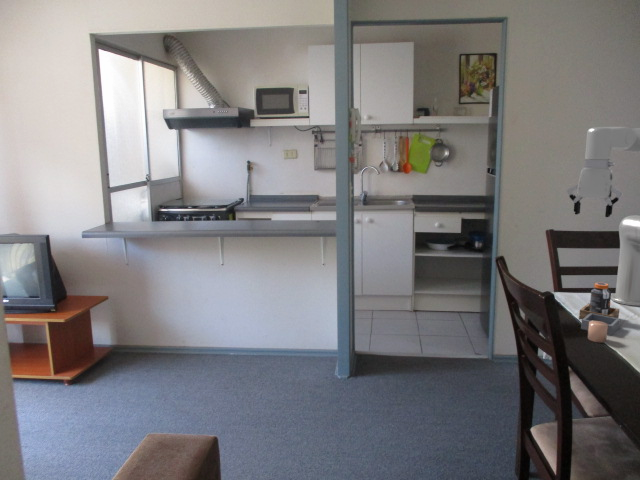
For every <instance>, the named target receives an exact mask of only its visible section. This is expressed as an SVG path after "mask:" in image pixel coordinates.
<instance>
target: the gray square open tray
mask: <svg viewBox="0 0 640 480" xmlns="http://www.w3.org/2000/svg"><path fill="white" fill-rule="evenodd" d="M590 321H601V322H605V323H607V324H608V328H607V336H612V335H614V334H615V332H616V331H618V329H619V328H620V321H621V318H613V317H608V316H603V315H598V314H593V313H590V314H588V315H587V316H586V317H585V318H583V319H582V320H581V322H580V323H581V324H580V325H581V326H580V329H581V330H585V331H588V329H589V322H590Z"/></svg>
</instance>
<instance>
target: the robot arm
mask: <svg viewBox="0 0 640 480" xmlns="http://www.w3.org/2000/svg"><path fill="white" fill-rule="evenodd" d="M612 151H624V152H630V153H637V154H639V153H640V127H635V128H631V127H628V126H599V127H590V128H588V130H587V132H586V143H585V152H584V153H585V155H584V165H583V168H581V171H580V174H579V177H578V178H579V179H578V183H577V185H575V186H572V187H570V188H568V189H567V190H566V192H567V195H568V196H569V198H570V200H572V202H573V212H574V215H577V216H578V215H579V214H580V213H581V205H582V204H581V200H582V199H592V200H604V201H605V202H606V204H607V205H606V206H605V216H604V217H605V218H610V216H611V215H612V214H613V207H614V205H615V204H616V203H617V202H619V200H620V199H621V198H622V197H623V194H624V192H623V191H621V190H620V189H617V188H615V187H613V186H614V185H613V184H614V183H613V181H614V180H613V170H612V168H610V167H614V166H615V161H611V152H612ZM575 191H577V192H576V194H577V196H576V195H575V194H574V192H575ZM613 193H614V194H615V195H616V196H615V197H614V198H612V196H613ZM618 235H619V257H618V266H617V267H618V268H617V277H616V286H615V293H611V300H610V301H613V302H615V303H618V304H620V305H621V304H622V305H627V306H636V307H637V306H638V307H640V215H635V214H634V215H628V216H626V217H624V218H622V220H621V221H620V222H619V225H618Z"/></svg>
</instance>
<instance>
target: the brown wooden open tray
mask: <svg viewBox="0 0 640 480" xmlns="http://www.w3.org/2000/svg"><path fill="white" fill-rule="evenodd" d="M589 310H590V302H588V303H587V304H586V305H585V306H583V307H582V308H581V309H579V313H578V314H579V316H578V319H579V320H580V319H583V318H585V317H586V316H587V315H588V314H590V313H593V314H598V315H603V316H608V317H613V318H618V319H620V317H619V316H620V308H616V307H611V306H610V311H609V315H606V314H601V313H596V312H591V311H589Z"/></svg>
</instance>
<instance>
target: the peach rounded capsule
mask: <svg viewBox="0 0 640 480" xmlns="http://www.w3.org/2000/svg"><path fill="white" fill-rule="evenodd" d="M607 328H608V324H607V323H605V322H601V321H590V322H589V329H588V330H587V339H588V340H589V341H591V342H594V343H606V342H607V337H608V335H607Z"/></svg>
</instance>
